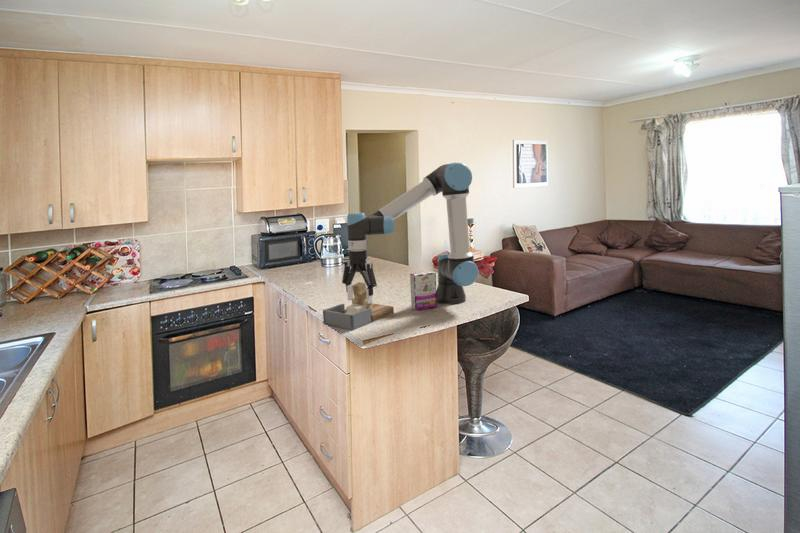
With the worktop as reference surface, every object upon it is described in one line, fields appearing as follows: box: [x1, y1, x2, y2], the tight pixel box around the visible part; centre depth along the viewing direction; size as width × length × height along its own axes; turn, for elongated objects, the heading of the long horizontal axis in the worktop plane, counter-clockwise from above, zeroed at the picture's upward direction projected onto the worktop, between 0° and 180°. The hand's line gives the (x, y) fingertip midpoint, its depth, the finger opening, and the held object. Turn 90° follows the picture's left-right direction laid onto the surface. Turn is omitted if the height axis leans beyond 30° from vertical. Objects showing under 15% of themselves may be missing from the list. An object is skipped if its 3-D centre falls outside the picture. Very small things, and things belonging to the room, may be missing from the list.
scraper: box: [351, 282, 373, 310], centre depth 186 cm, size 10×4×11 cm, turn 55°
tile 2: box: [345, 304, 366, 314], centre depth 184 cm, size 6×6×3 cm
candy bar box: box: [409, 270, 438, 311], centre depth 199 cm, size 11×5×16 cm, turn 114°
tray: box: [322, 303, 373, 331], centre depth 180 cm, size 16×12×6 cm
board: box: [345, 302, 395, 323], centre depth 191 cm, size 16×15×3 cm
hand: (360, 301), depth 186 cm, fingers closed on scraper, 10 cm apart
